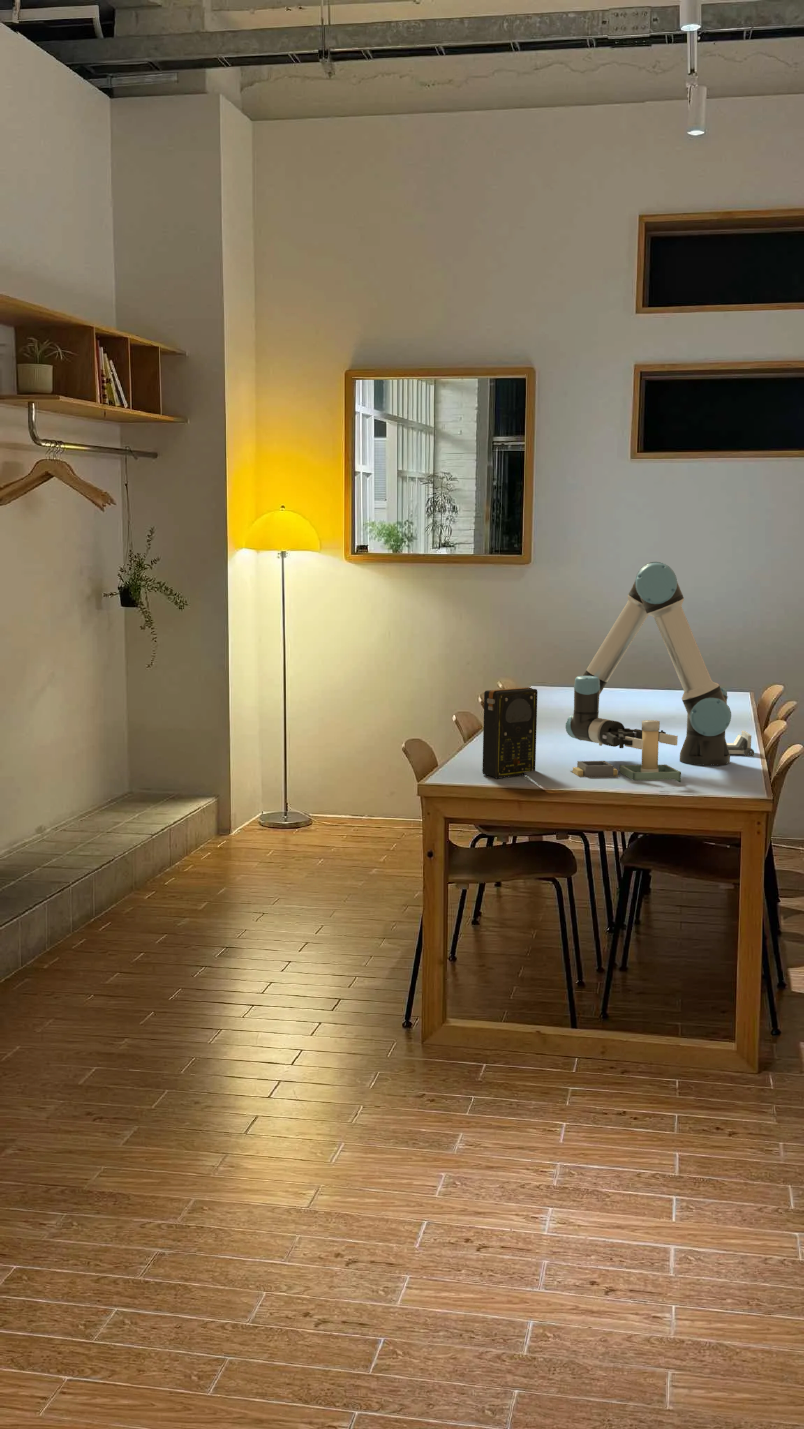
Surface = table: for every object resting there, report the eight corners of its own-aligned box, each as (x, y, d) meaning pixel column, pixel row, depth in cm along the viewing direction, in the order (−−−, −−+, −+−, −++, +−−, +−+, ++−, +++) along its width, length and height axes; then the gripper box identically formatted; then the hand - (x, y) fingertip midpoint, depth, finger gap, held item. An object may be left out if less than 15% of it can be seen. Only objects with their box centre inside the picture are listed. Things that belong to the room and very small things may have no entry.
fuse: (654, 774, 381) (656, 719, 379) (660, 777, 376) (662, 722, 374) (638, 775, 380) (639, 720, 378) (644, 778, 375) (645, 722, 373)
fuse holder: (609, 773, 385) (610, 760, 385) (620, 780, 376) (621, 766, 375) (569, 774, 384) (570, 760, 383) (579, 780, 374) (580, 766, 373)
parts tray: (665, 774, 385) (666, 764, 385) (680, 782, 373) (681, 772, 373) (619, 775, 383) (619, 765, 382) (633, 783, 371) (633, 772, 371)
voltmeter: (497, 779, 374) (499, 692, 370) (478, 775, 380) (480, 688, 377) (538, 774, 383) (541, 688, 379) (519, 769, 390) (521, 685, 386)
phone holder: (698, 726, 418) (691, 720, 430) (696, 756, 420) (690, 750, 431) (755, 727, 417) (747, 721, 429) (754, 757, 419) (746, 751, 430)
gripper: (637, 741, 399) (689, 752, 381) (575, 748, 385) (626, 759, 367) (638, 717, 398) (691, 726, 380) (576, 722, 384) (627, 732, 366)
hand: (659, 742), depth 374 cm, fingers open, 13 cm apart
